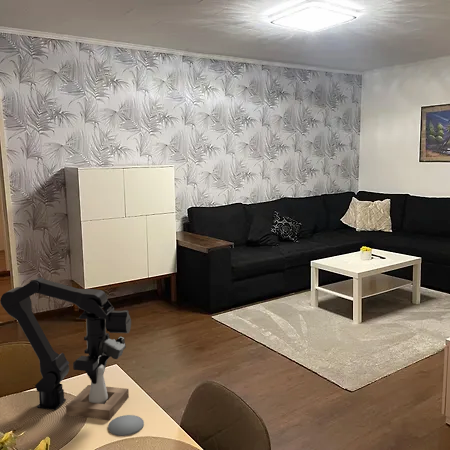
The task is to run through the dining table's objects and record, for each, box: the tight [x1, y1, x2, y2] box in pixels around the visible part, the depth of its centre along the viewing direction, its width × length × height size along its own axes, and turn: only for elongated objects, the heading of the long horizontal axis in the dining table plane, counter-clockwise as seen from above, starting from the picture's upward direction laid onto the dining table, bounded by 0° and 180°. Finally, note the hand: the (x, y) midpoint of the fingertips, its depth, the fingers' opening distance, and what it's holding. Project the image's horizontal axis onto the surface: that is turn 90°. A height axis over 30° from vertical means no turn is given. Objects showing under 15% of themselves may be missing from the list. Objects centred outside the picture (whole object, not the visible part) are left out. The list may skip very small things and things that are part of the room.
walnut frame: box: [65, 384, 130, 421], centre depth 145 cm, size 14×14×3 cm
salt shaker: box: [89, 364, 108, 404], centre depth 145 cm, size 6×6×13 cm
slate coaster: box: [108, 414, 145, 437], centre depth 134 cm, size 10×10×1 cm
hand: (97, 380), depth 145 cm, fingers closed on salt shaker, 4 cm apart
